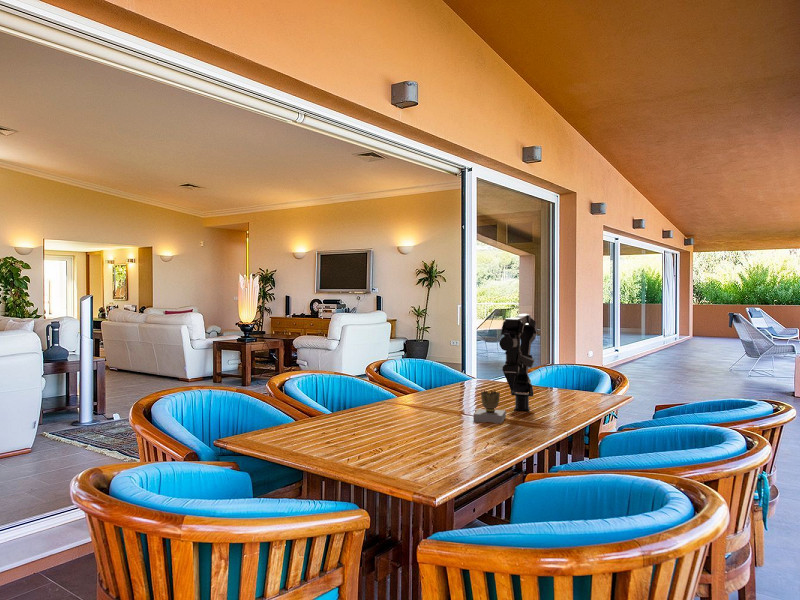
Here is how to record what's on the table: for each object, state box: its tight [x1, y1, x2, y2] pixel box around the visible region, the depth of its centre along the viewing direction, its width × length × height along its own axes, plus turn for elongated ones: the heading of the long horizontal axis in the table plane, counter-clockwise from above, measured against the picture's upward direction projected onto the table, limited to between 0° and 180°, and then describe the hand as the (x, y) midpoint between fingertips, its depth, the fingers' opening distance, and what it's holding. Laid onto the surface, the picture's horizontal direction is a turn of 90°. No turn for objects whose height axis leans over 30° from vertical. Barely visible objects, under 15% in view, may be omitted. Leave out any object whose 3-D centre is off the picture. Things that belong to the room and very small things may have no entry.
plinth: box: [473, 408, 507, 424], centre depth 227 cm, size 11×11×3 cm
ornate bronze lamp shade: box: [480, 390, 501, 413], centre depth 227 cm, size 8×7×8 cm
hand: (513, 387), depth 234 cm, fingers open, 9 cm apart
